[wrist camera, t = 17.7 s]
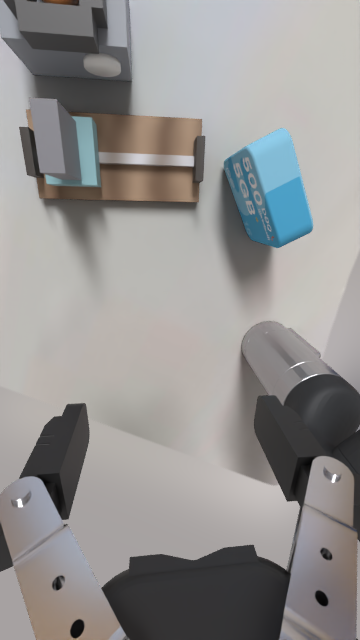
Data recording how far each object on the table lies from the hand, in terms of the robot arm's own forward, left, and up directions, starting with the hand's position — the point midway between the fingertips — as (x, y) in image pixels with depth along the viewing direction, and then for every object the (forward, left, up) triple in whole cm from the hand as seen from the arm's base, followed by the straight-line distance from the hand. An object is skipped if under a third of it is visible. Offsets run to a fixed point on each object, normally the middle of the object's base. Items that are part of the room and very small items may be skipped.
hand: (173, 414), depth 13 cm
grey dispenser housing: (+9, -28, -34) cm, 45 cm away
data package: (-14, -11, -34) cm, 39 cm away
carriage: (+10, -15, -31) cm, 36 cm away
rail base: (+5, -15, -34) cm, 38 cm away
